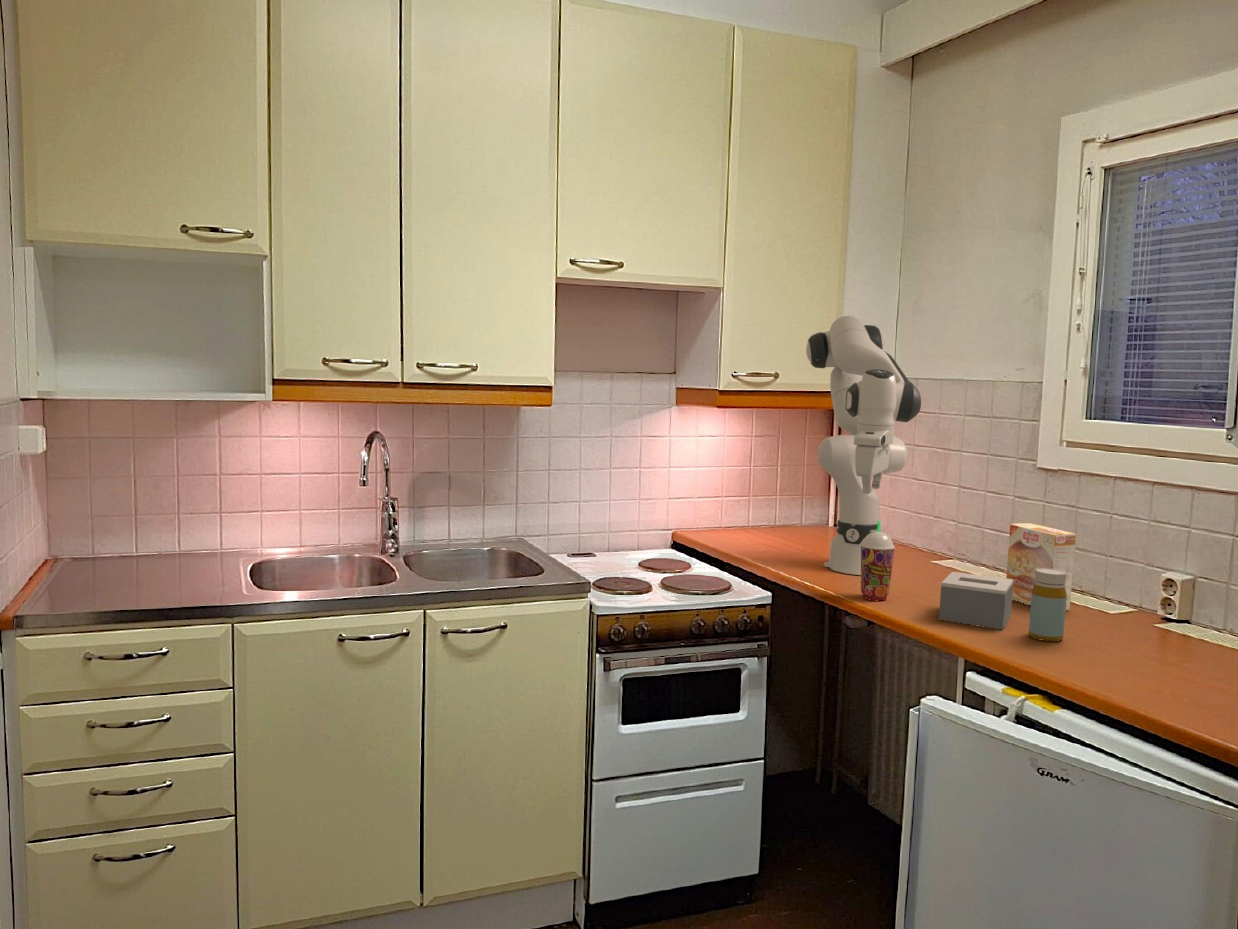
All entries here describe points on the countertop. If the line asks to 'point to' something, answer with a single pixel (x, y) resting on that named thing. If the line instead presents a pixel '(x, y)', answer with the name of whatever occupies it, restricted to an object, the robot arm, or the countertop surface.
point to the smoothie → (876, 565)
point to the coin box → (976, 600)
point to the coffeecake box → (1038, 557)
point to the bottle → (1048, 605)
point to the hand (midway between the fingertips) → (871, 491)
